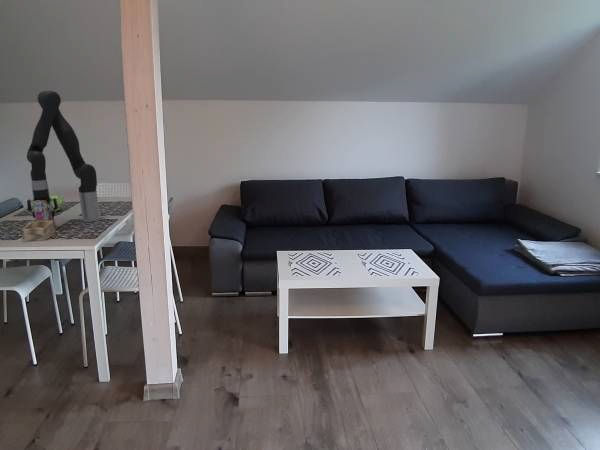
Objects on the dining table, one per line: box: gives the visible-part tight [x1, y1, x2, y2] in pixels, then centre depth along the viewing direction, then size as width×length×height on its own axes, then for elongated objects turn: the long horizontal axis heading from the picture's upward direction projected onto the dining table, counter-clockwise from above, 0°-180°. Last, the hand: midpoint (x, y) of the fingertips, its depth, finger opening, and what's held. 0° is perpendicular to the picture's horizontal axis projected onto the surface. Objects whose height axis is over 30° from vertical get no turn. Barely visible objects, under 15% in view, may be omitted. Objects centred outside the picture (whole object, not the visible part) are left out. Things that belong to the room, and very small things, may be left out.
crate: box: [20, 220, 56, 243], centre depth 228 cm, size 11×17×6 cm, turn 17°
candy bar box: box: [32, 198, 56, 227], centre depth 242 cm, size 11×5×16 cm, turn 5°
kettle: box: [31, 194, 67, 213], centre depth 283 cm, size 15×14×11 cm
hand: (44, 217), depth 242 cm, fingers open, 8 cm apart
